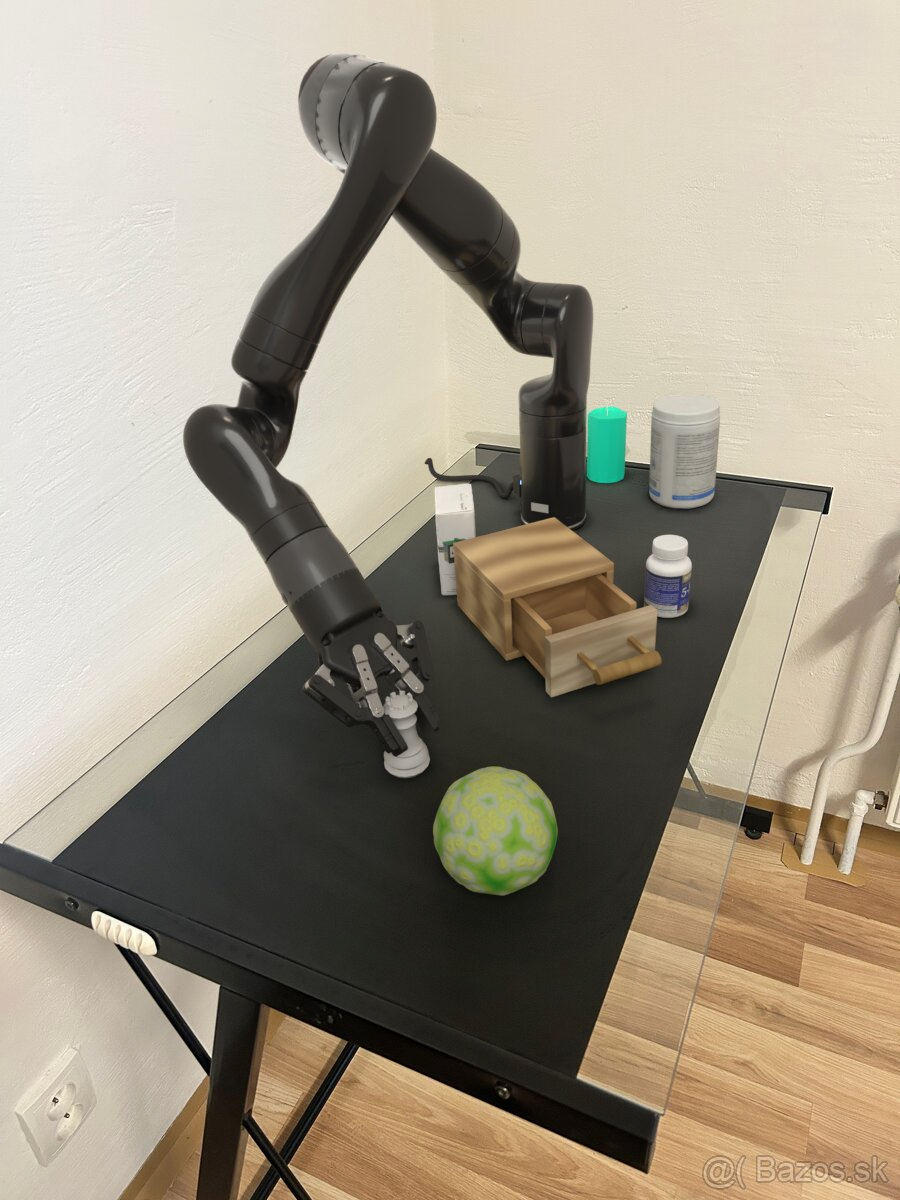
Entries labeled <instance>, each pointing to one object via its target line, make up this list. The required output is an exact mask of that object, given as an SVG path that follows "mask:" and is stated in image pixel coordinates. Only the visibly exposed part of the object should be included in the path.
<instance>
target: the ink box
mask: <svg viewBox="0 0 900 1200" xmlns="http://www.w3.org/2000/svg"><path fill="white" fill-rule="evenodd" d="M434 513H435V515H434V516H435V535H436V545H437V559H438V569H439V570H438V571H439V580H440V592H441V593H440V594H441V595H442V596H457V588H456V575H455V561H454V548H453V543H455V542H459V541H463V540H467V539H471V538H475V537H477V533H476V531H477V530H476V514H475V503H474V495H473V488H472V484H471V483H459V484H452V485H442V486H435V487H434Z"/></svg>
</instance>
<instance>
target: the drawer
mask: <svg viewBox="0 0 900 1200" xmlns="http://www.w3.org/2000/svg"><path fill="white" fill-rule="evenodd" d="M511 615H512V642H513V644H514V645H515V646H516V647H517V648H518V649H519V651H520V652H521V653H522V654H523V655H524V656H523V657H525V658H526V660H527V661H529V663H530V664H531V665H532V666H533V667H534V668H535V670H537V672H539V673H540V675H541V676H542V677H543V678H544V679H545V692H546V694H547V695H548V696H549V697H550V698H554V697H558V696H560V695H564V694H567V693H569V692H573V691H576V690H579V689H582V688H585V687H588V686H591V685H594V684H596V686H602V685H604V684H607V683H611V682H613V681H616V680H620V679H623V678H626V677H629V676H633V675H635V674H638V673H642V672H644V671H647V670H650V669H654V668H656V667H660V666H661V665H662V657H661V654H660V652H658V650H656V640H657V625H658V624H657V623H658V617H657V609H656V608H654V607H653V606H652V605H649V606H645V607H644V606H643V607H639V608H637V602H636V601H635V600H634V599H633V598H631V596H629V595H628V594H627V593H625V592H624V591H623V590H622V589H620V587H618V586H617V585H616V584H614V582H613V583H612V582H610V581H609V580H608V579H607V578H605V577H604V576H603V575H602V574H597V575H594V576H590V577H587V578H583V579H579V580H576V581H572V582H569V583H565V584H562V585H558V586H555V587H551V588H548V589H544V590H541V591H537V592H533V593H530V594H526V595H523V596H519V597H516V598H512V599H511Z"/></svg>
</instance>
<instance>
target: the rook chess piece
mask: <svg viewBox="0 0 900 1200" xmlns="http://www.w3.org/2000/svg"><path fill="white" fill-rule="evenodd" d="M389 695H390V696H386V697H385V702H384V703H383V705H382V706H383V709H384V715H385V716H386V715H387V714H389V716H390V718H391V719H392V721H393V723H394V724H395V726H396V728H397V729H398V731H399V732H400V734H401V736H402V737H403V739H404V741H405V742H406V744H407V746H408V750H407V751H405V752H403V753H402V754H400V755H398V756H397V757H395V756H394V755H393V754H392V753H389V754H388V753H387V752H386V751H384V752H383V759H384V761H383V765H384V769H385V770H386V772H388V773H389V774H390V775H391V776H393V777H396V778H399V779H411V778H415V777H417V776H419V775H421V774H422V773H423V772H424V771H425V770H426V769H427V768H428V766H429V764H430V761H431V757H430V754H429V749H428V746H427V745H426V743H425V742H424V741H423V739H422V738H421V737H420V736H419V734H418V731H417V727H416V724H417V722H416V720H417V718H416V715H415V714H414V713H415V712H416V710H417V707H418V705H417V702H416V701H415V700H414V699H413V698H412V695H411V694H410V693H408V694H407V695H405V691H400V693H399V694H396V692H395V691H393V692H391V693H389Z"/></svg>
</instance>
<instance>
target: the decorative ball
mask: <svg viewBox="0 0 900 1200" xmlns="http://www.w3.org/2000/svg"><path fill="white" fill-rule="evenodd" d="M555 814H556V813H555V811H554V808H553V803H552V801H551V800H550V799H549V797H548V796H547V795H546V793H545V792H544V791H543V790H542V789H541V787H540V786H539V785H538V784H537V782H535V781H533V780H532V779H531V778H530V777H529V776H528V775H527V774H526V773H523V772H521V771H519V770H517V769H516V770H515V769H510V768H505V767H502V766H487V767H482V768H479V769H476V770H474V771H472V772H470V773H468V774H466V775H464V776H462V777H461V778H458V779H457V780H455V781H454V782H453V783H452V784H451V785H450V786H449V787H448V788H447V790H446V792H445V793H444V795H443V797H442V799H441V801H440V804H439V806H438V809H437V811H436V814H435V818H434V822H433V824H432V825H433V826H432V834H433V844H434V848H435V850H436V852H437V854H438V856H439V859H440V861H441V864H442V866H443V868H444V869H445V871H446V872H447V873H448V875H449V876H450V877H451V878H452V879H454V881H455V882H456V883H458V884H459V885H461V886H463V887H465V889H467V890H469V891H471V892H474V893H480V894H487V895H494V896H501V897H502V896H503V897H505V896H506V895H509V894H513V893H515V892H518V891H519V890H522V889H525V888H526V887H529V886H530V885H533V884H534V883H536V882H537V881H538V880H539V879H540V877H542V876H543V875H544V874H545V873H546V871H547V869H548V867H549V865H550V863H551V860H552V858H553V855H554V851H555V849H556V844H557V841H558V835H559V830H558V829H559V828H558V824H557V818H556V817H557V816H556V815H555Z"/></svg>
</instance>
